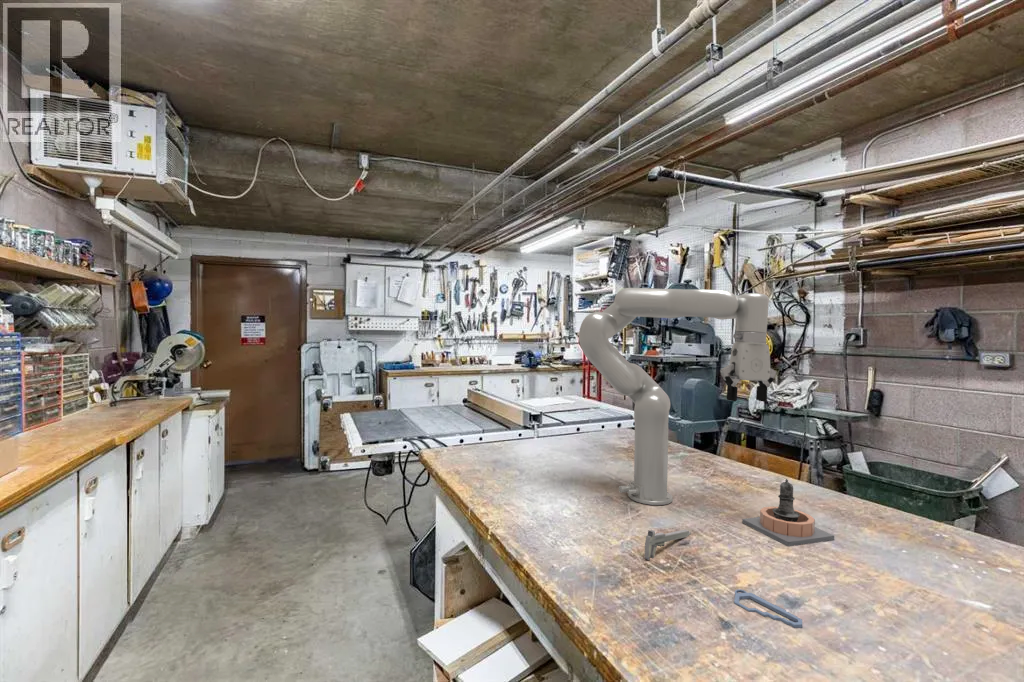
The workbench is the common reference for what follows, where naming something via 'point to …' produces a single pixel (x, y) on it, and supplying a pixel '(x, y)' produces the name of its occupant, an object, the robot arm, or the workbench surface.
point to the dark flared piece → (786, 504)
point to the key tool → (769, 605)
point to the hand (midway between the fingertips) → (746, 400)
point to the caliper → (660, 540)
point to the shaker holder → (788, 528)
